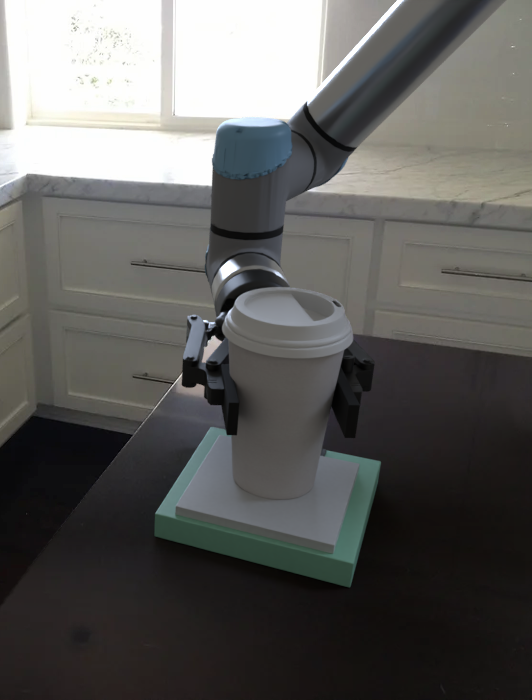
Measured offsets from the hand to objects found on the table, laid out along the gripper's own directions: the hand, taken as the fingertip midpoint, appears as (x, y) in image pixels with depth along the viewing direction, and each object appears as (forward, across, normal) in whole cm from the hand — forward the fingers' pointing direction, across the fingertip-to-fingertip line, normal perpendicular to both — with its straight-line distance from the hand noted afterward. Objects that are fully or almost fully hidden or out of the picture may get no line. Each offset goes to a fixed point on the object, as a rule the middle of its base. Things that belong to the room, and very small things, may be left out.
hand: (292, 420), depth 63 cm
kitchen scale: (-5, 0, -11) cm, 12 cm away
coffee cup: (-5, 0, -8) cm, 10 cm away
